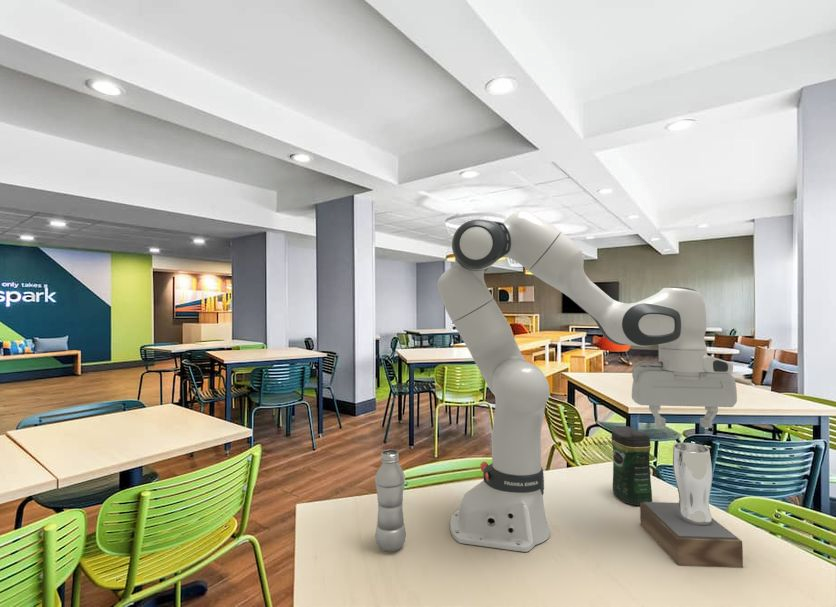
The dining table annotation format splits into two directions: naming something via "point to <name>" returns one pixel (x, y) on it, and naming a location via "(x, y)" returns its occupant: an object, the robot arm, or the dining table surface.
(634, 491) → the coffee jar
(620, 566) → the dining table surface
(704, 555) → the walnut plinth
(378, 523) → the plastic bottle
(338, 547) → the dining table surface
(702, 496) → the beer glass
